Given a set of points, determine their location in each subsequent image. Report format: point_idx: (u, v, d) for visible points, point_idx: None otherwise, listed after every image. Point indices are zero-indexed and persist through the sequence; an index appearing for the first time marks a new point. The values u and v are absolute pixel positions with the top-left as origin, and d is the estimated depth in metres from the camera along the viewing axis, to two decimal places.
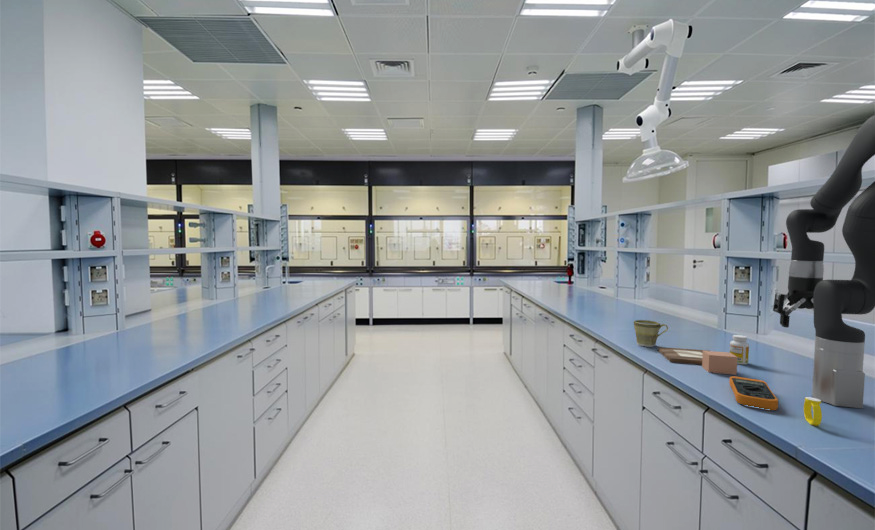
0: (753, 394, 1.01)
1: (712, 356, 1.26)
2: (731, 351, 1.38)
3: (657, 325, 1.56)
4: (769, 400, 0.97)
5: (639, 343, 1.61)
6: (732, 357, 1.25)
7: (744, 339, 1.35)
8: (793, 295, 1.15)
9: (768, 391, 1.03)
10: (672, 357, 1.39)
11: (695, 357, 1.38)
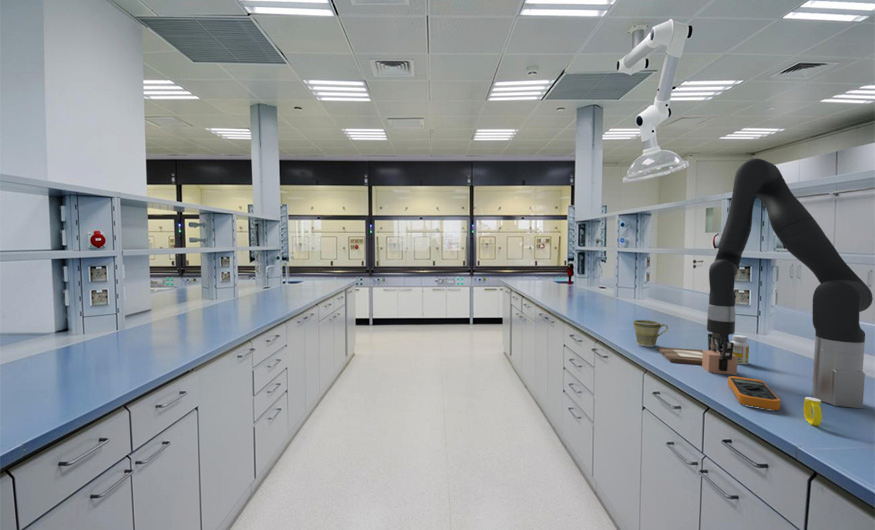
0: (755, 395, 1.01)
1: (712, 356, 1.26)
2: None
3: (657, 325, 1.56)
4: (772, 400, 0.97)
5: (639, 343, 1.61)
6: (732, 357, 1.25)
7: (744, 339, 1.35)
8: None
9: (768, 391, 1.03)
10: (672, 357, 1.39)
11: (695, 357, 1.38)
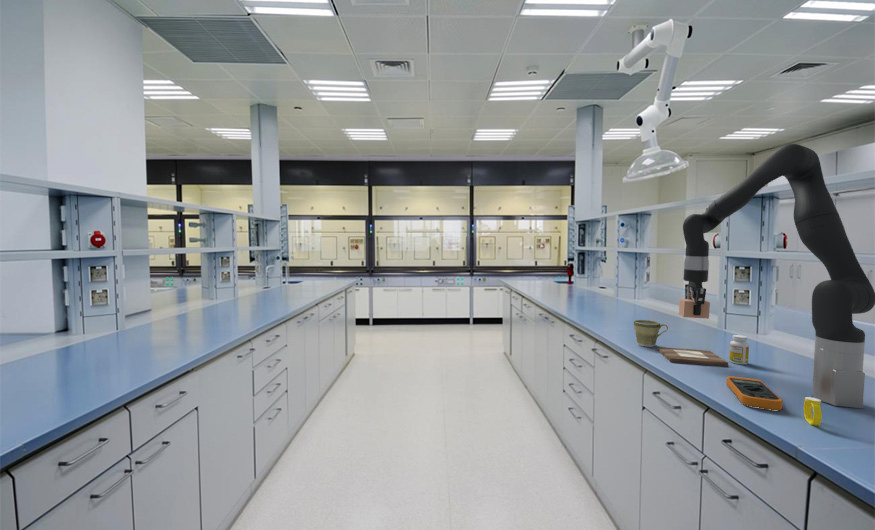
0: (757, 395, 1.00)
1: (687, 302, 1.39)
2: (731, 351, 1.38)
3: (657, 325, 1.56)
4: (775, 401, 0.97)
5: (639, 343, 1.61)
6: (705, 302, 1.37)
7: (744, 339, 1.35)
8: None
9: (768, 391, 1.03)
10: (672, 357, 1.39)
11: (695, 357, 1.38)
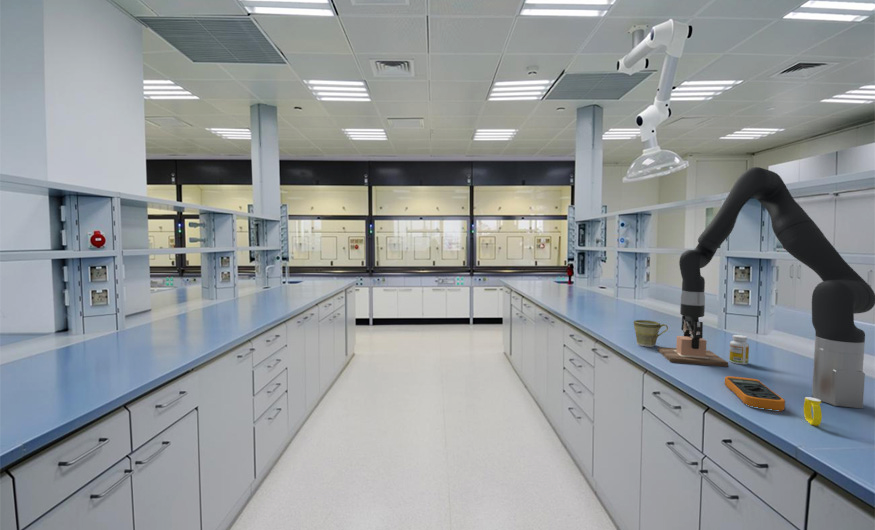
0: (759, 395, 1.00)
1: (684, 340, 1.41)
2: (731, 351, 1.38)
3: (657, 325, 1.56)
4: (778, 401, 0.97)
5: (639, 343, 1.61)
6: (702, 341, 1.39)
7: (744, 339, 1.35)
8: None
9: (769, 391, 1.03)
10: (672, 357, 1.39)
11: (695, 357, 1.38)
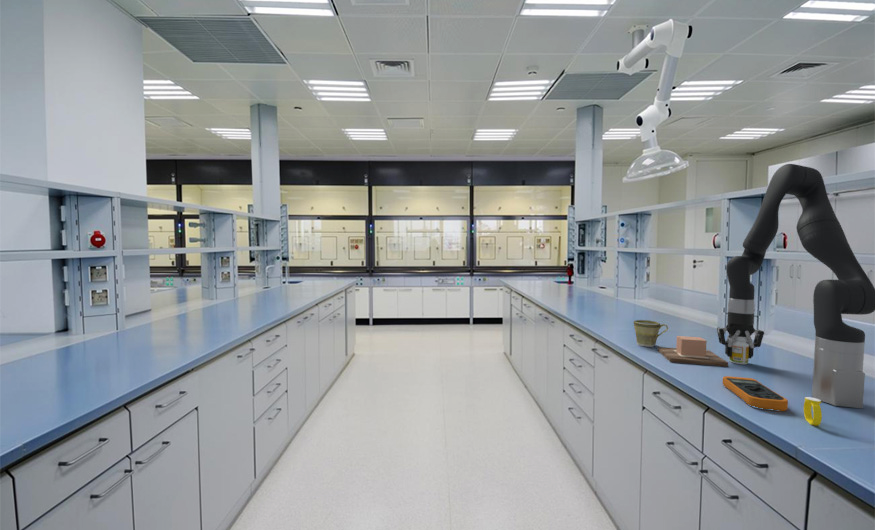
0: (762, 396, 1.00)
1: (684, 340, 1.41)
2: None
3: (657, 325, 1.56)
4: (782, 401, 0.96)
5: (639, 343, 1.61)
6: (702, 341, 1.39)
7: (744, 339, 1.35)
8: None
9: (769, 390, 1.04)
10: (672, 357, 1.39)
11: (695, 357, 1.38)
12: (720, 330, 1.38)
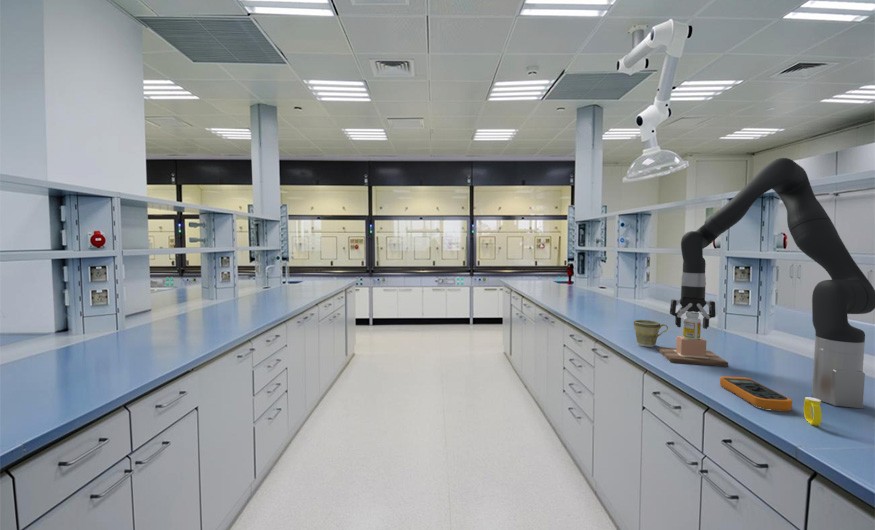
0: (767, 396, 1.00)
1: (684, 340, 1.41)
2: (684, 327, 1.43)
3: (657, 325, 1.56)
4: (787, 401, 0.97)
5: (639, 343, 1.61)
6: (702, 341, 1.39)
7: (696, 315, 1.40)
8: None
9: (769, 390, 1.04)
10: (672, 357, 1.39)
11: (695, 357, 1.38)
12: (673, 301, 1.43)
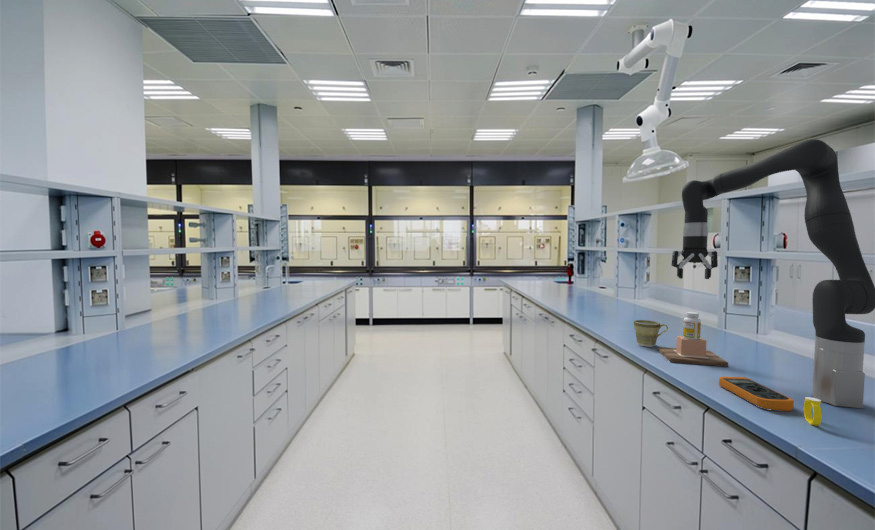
0: (769, 396, 1.00)
1: (684, 340, 1.41)
2: (684, 327, 1.43)
3: (657, 325, 1.56)
4: (789, 401, 0.97)
5: (639, 343, 1.61)
6: (702, 341, 1.39)
7: (696, 315, 1.40)
8: None
9: (769, 389, 1.04)
10: (672, 357, 1.39)
11: (695, 357, 1.38)
12: (675, 252, 1.42)
